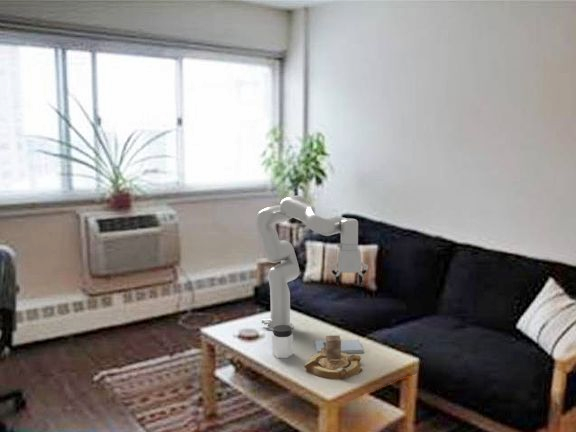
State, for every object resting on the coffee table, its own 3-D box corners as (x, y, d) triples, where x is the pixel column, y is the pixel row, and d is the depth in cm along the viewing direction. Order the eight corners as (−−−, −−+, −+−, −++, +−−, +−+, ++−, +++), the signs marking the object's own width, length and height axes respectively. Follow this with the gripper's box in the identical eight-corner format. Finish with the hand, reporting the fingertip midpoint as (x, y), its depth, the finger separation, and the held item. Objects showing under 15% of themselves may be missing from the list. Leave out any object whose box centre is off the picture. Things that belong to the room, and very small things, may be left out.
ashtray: (292, 366, 234) (292, 355, 233) (334, 352, 249) (334, 341, 248) (330, 387, 216) (330, 374, 215) (374, 370, 230) (374, 358, 229)
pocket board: (317, 354, 245) (317, 350, 245) (314, 343, 257) (314, 340, 256) (363, 353, 246) (363, 349, 245) (358, 342, 257) (358, 339, 257)
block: (327, 359, 229) (327, 340, 228) (326, 354, 235) (326, 335, 233) (340, 359, 229) (340, 340, 228) (339, 353, 235) (339, 335, 233)
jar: (293, 350, 249) (292, 324, 247) (293, 358, 241) (292, 331, 239) (272, 350, 249) (272, 324, 247) (272, 358, 241) (271, 331, 239)
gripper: (330, 248, 244) (330, 287, 247) (370, 248, 245) (369, 286, 247) (328, 245, 251) (328, 282, 254) (367, 244, 252) (366, 281, 255)
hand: (348, 284), depth 251 cm, fingers open, 9 cm apart
